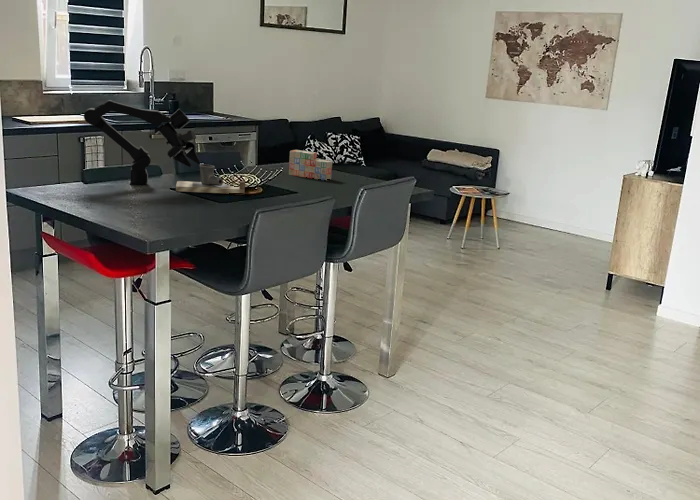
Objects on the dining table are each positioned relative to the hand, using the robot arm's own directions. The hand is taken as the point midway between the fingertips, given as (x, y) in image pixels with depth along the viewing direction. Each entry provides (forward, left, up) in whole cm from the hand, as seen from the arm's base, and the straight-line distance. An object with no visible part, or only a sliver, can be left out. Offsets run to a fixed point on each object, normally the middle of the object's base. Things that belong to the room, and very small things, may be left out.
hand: (195, 165), depth 293 cm
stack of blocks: (+55, +42, -10) cm, 70 cm away
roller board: (+6, -2, -10) cm, 12 cm away
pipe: (+6, -2, -8) cm, 11 cm away
